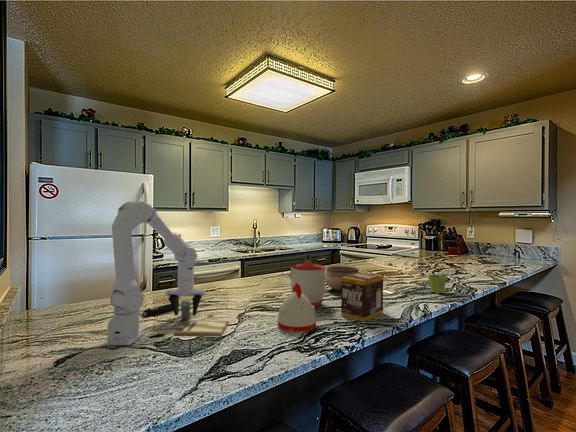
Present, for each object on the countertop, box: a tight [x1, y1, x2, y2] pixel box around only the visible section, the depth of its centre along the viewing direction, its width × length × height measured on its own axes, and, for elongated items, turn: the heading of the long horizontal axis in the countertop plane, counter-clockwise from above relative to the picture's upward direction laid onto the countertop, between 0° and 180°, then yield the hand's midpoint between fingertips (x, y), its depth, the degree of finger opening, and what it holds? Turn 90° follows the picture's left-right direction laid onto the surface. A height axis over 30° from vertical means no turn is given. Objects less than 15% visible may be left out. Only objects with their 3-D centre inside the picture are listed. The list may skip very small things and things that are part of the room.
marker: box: [180, 299, 191, 322], centre depth 117 cm, size 3×3×7 cm
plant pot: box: [427, 274, 448, 294], centre depth 162 cm, size 9×9×9 cm
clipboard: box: [173, 320, 230, 337], centre depth 108 cm, size 12×16×1 cm
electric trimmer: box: [141, 302, 180, 318], centre depth 126 cm, size 4×15×3 cm, turn 142°
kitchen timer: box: [277, 283, 317, 332], centre depth 113 cm, size 14×14×15 cm
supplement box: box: [340, 272, 384, 322], centre depth 125 cm, size 10×15×16 cm
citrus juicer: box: [287, 259, 326, 308], centre depth 139 cm, size 16×17×20 cm
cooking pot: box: [325, 264, 360, 293], centre depth 164 cm, size 25×19×12 cm
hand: (185, 314), depth 117 cm, fingers open, 6 cm apart
